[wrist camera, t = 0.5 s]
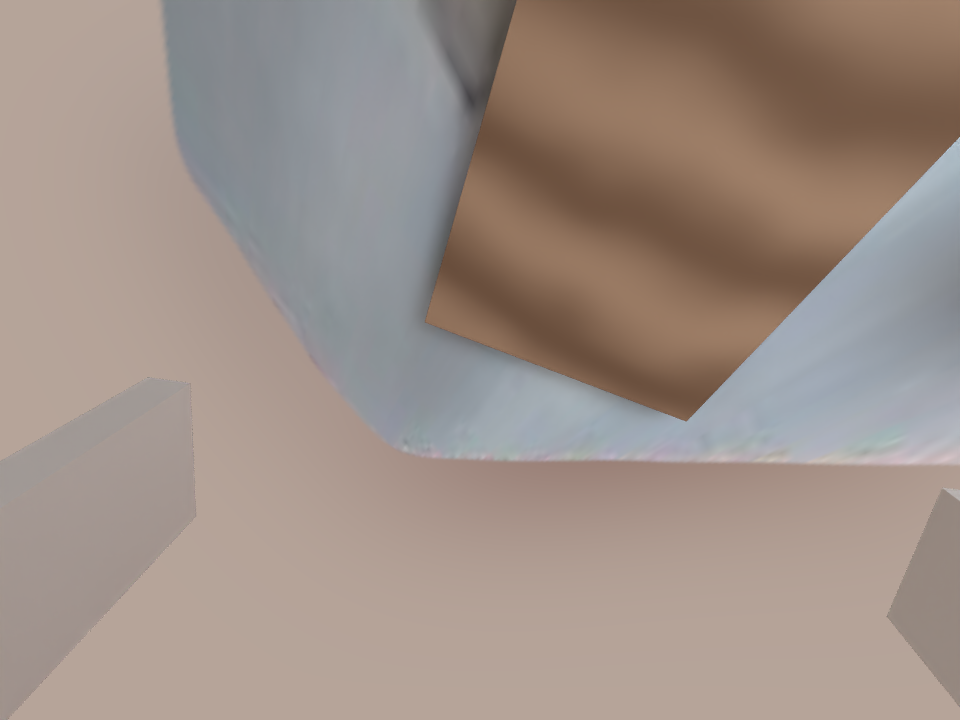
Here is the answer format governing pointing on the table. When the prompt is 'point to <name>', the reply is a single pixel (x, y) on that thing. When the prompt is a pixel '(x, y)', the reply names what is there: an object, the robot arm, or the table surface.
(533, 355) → the brown flat wooden slab
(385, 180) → the table surface
